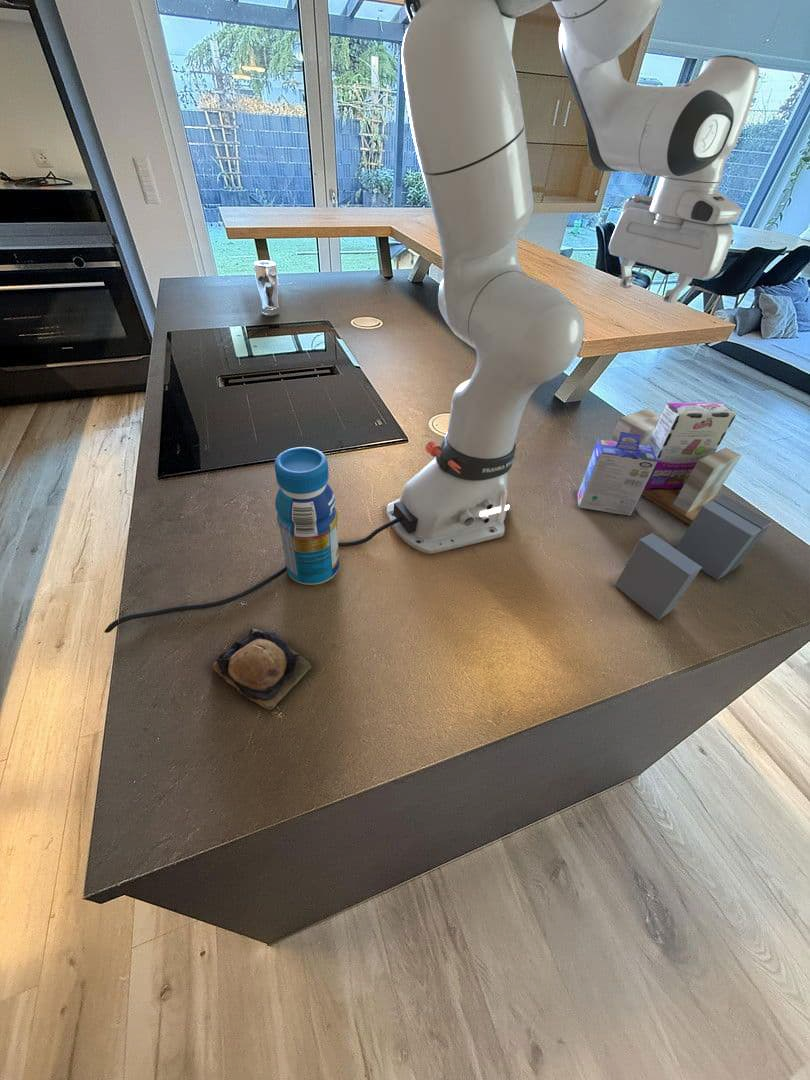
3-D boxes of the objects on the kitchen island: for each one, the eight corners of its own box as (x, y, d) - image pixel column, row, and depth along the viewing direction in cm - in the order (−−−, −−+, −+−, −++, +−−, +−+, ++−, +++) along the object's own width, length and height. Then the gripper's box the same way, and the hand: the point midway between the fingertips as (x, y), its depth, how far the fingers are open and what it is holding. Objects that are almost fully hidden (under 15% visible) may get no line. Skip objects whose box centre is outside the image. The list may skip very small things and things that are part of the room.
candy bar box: (680, 475, 96) (722, 401, 84) (694, 489, 92) (739, 414, 81) (630, 475, 94) (665, 400, 83) (641, 490, 91) (680, 414, 80)
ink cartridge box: (627, 499, 90) (659, 434, 80) (631, 517, 86) (666, 450, 76) (576, 491, 91) (601, 425, 81) (578, 508, 87) (605, 441, 77)
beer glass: (257, 315, 155) (249, 264, 145) (265, 308, 160) (258, 259, 150) (277, 317, 155) (271, 266, 144) (284, 311, 160) (279, 261, 149)
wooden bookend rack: (695, 528, 85) (727, 479, 77) (597, 466, 99) (616, 418, 91) (727, 510, 90) (761, 461, 82) (629, 453, 103) (650, 406, 96)
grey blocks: (657, 620, 69) (689, 575, 62) (614, 585, 73) (639, 539, 66) (737, 566, 78) (772, 522, 71) (694, 538, 83) (723, 494, 76)
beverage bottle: (274, 571, 71) (252, 462, 58) (311, 541, 77) (299, 435, 63) (315, 596, 68) (302, 487, 55) (351, 563, 74) (347, 457, 60)
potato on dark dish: (315, 666, 60) (313, 650, 57) (267, 716, 55) (262, 701, 52) (258, 625, 64) (253, 609, 61) (207, 669, 59) (200, 653, 56)
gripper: (617, 192, 80) (590, 281, 89) (730, 213, 68) (685, 313, 77) (639, 192, 83) (611, 278, 92) (752, 211, 70) (706, 308, 80)
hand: (646, 294), depth 84 cm, fingers open, 8 cm apart
